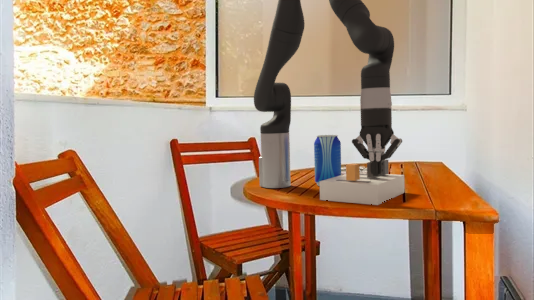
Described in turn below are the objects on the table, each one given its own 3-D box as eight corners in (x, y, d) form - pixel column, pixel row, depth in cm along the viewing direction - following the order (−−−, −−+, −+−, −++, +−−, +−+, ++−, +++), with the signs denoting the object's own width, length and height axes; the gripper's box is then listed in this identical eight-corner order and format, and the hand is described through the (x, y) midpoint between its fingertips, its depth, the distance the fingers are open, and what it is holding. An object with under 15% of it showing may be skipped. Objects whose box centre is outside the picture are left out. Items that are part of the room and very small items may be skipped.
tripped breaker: (346, 180, 118) (346, 164, 118) (351, 178, 121) (350, 163, 120) (354, 180, 117) (354, 165, 116) (359, 179, 119) (359, 163, 119)
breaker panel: (320, 199, 121) (319, 180, 120) (351, 188, 137) (351, 172, 137) (377, 205, 112) (377, 184, 111) (404, 192, 128) (404, 174, 127)
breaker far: (376, 174, 127) (376, 160, 127) (380, 173, 129) (380, 159, 129) (384, 175, 126) (384, 160, 125) (388, 173, 128) (388, 159, 128)
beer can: (340, 187, 141) (339, 135, 140) (313, 187, 143) (312, 136, 142) (342, 183, 149) (341, 134, 148) (316, 183, 151) (315, 135, 150)
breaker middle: (367, 177, 122) (366, 162, 121) (371, 176, 124) (371, 161, 124) (375, 178, 120) (375, 163, 120) (379, 176, 123) (379, 161, 122)
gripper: (344, 108, 114) (346, 176, 115) (396, 105, 107) (397, 179, 108) (357, 108, 120) (358, 173, 121) (407, 105, 113) (408, 175, 114)
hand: (377, 175), depth 115 cm, fingers closed
